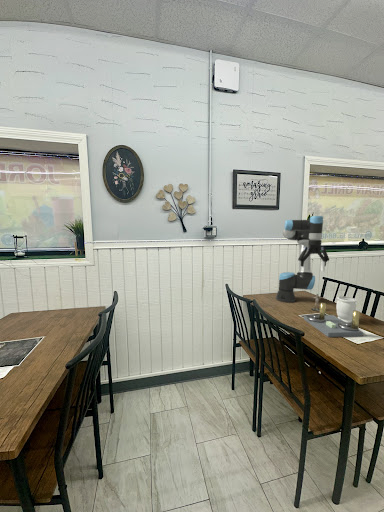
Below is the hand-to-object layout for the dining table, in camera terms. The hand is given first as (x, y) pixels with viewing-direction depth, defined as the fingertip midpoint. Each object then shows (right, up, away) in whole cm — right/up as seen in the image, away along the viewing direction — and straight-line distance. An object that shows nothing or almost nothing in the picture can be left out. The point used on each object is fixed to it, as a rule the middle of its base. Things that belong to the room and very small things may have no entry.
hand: (312, 271), depth 146 cm
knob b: (+10, -32, -19) cm, 38 cm away
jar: (+19, -33, -3) cm, 38 cm away
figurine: (+11, -30, +15) cm, 36 cm away
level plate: (+4, -34, -13) cm, 36 cm away
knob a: (-2, -30, -7) cm, 31 cm away
